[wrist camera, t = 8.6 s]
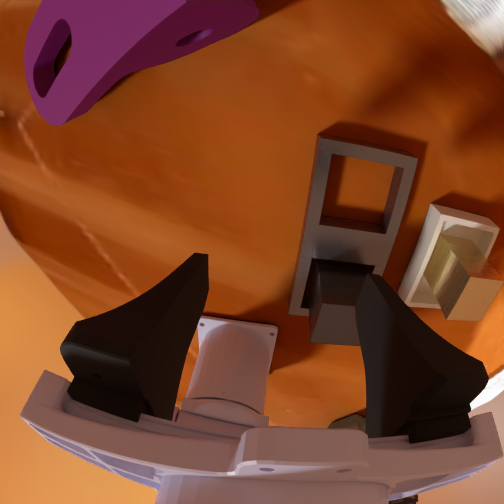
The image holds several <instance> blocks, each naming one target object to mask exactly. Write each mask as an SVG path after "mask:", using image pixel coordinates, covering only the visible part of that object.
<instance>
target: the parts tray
mask: <svg viewBox="0 0 504 504" xmlns="http://www.w3.org/2000/svg"><path fill="white" fill-rule="evenodd" d="M499 230H500V228H499V227H498V226H497V225H496V224H495V223H493V222H492V221H491V220H490V219H489V218H487V217H483V216H480V215H476V214H472V213H469V212H465V211H461V210H457V209H453V208H449V207H445V206H441V205H437V204H432V203H431V204H430V207H429V210H428V213H427V216H426V219H425V222H424V225H423V228H422V231H421V233H420V236H419V239H418V242H417V244H416V247H415V250H414V252H413V255H412V257H411V260H410V263H409V265H408V267H407V270H406V272H405V275H404V277H403V279H402V282H401V284H400V286H399V289H398V291H397V292H398V295H399V297H400V298H401V299H402V300H403V301H404V302H405V304H406V305H407V306H408V307H423V308H439V309H441V307H440V305H439V303H438V301H437V299H436V297H435V295H434V293H433V292H432V290H431V288H430V286H429V284H428V282H427V280H426V278H425V276H424V275H423V273H424V270H425V268H426V266H427V263H428V261H429V259H430V256H431V254H432V251H433V249H434V246H435V244H436V241H437V239H438V236H439V234H444V235H449V236H454V237H458V238H463V239H468V240H472V242H473V243H474V244H475V245H476V246H477V247H478V249H479V250H480V251H481V252H482V254H483V255H484V256H485V257H486V258H488V256H489V253H490V251H491V249H492V247H493V244H494V242H495V240H496V237H497V235H498V233H499Z"/></svg>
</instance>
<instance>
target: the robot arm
mask: <svg viewBox="0 0 504 504" xmlns="http://www.w3.org/2000/svg"><path fill="white" fill-rule="evenodd" d="M208 291H209V277H208V254H202V253H194V254H193V255H192V256H190V257H189V258H188V259H187V260H186V261H185V262H184V263H183V264H181V265H180V266H179V267H178V268H177V269H176V270H174V271H173V272H172V273H171V274H170V275H169V276H167V277H166V278H165V279H164V280H162V281H161V282H160V283H158V284H157V285H156V286H154V287H153V288H151V289H150V290H148V291H147V292H145V293H144V294H142V295H140V296H139V297H137V298H135V299H133V300H131V301H129V302H127V303H126V304H124V305H122V306H120V307H117V308H115V309H113V310H110V311H108V312H105V313H103V314H100V315H97V316H94V317H91V318H87V319H84V320H81V321H77V322H76V323H75V324H74V326H73V327H72V328H71V330H70V331H69V333H68V335H67V336H66V338H65V339H64V341H63V343H62V344H61V347H60V351H61V355H62V357H63V359H64V361H65V363H66V364H67V366H68V367H69V369H70V371H71V372H72V374H73V375H74V379H73V381H72V382H69V381H68V380H67V379H65V378H63V377H61V376H58V375H56V374H54V373H52V372H49V371H47V370H44V372H43V374H42V375H41V377H40V379H39V381H38V382H37V384H36V386H35V388H34V389H33V391H32V393H31V395H30V397H29V398H28V401H27V402H26V404H25V406H24V408H23V410H22V412H21V414H20V416H21V418H22V419H23V420H24V421H25V422H26V423H28V424H29V425H30V426H31V427H32V428H33V429H34V430H35V431H36V432H38V433H39V434H40V435H41V436H42V437H43V438H45V439H46V440H47V441H48V442H50V443H52V444H54V445H56V446H57V447H60V448H61V449H63V450H65V451H67V452H69V453H71V454H73V455H75V456H77V457H79V458H81V459H83V460H85V461H87V462H89V463H92V464H94V465H96V466H98V467H100V468H103V469H105V470H107V471H109V472H112V473H114V474H116V475H119V476H121V477H124V478H127V479H129V480H132V481H135V482H137V483H140V484H143V485H146V486H149V487H152V488H154V489H155V490H156V491H157V492H158V495H157V498H156V502H155V504H389V501H391V500H396V499H400V498H404V497H408V496H412V495H416V494H420V493H423V492H427V491H430V490H433V489H436V488H440V487H443V486H446V485H449V484H452V483H455V482H458V481H461V480H464V479H466V478H469V477H471V476H473V475H475V474H476V473H478V472H480V471H482V470H483V469H485V468H487V467H488V466H490V465H492V464H493V463H495V462H496V461H498V460H499V459H501V458H502V457H503V452H502V448H501V443H500V440H499V436H498V432H497V429H496V425H495V422H494V418H493V415H492V412H488V413H484V414H480V415H476V416H473V417H472V418H470V419H469V416H468V413H469V412H470V411H471V407H470V403H471V402H472V401H473V400H474V399H475V398H476V397H477V396H478V395H479V394H480V393H481V392H482V390H483V389H484V388H485V387H486V385H487V383H488V379H489V377H488V374H487V372H486V369H485V367H484V364H483V362H481V361H479V360H477V359H476V358H474V357H472V356H470V355H468V354H466V353H464V352H463V351H461V350H459V349H458V348H456V347H455V346H453V345H452V344H450V343H449V342H447V341H446V340H445V339H443V338H442V337H441V336H439V335H438V334H437V333H436V332H434V331H433V330H432V329H431V328H430V327H429V326H428V325H426V324H425V323H424V322H423V321H422V320H421V319H420V318H419V317H418V316H417V315H416V314H415V313H414V312H413V311H412V310H411V309H410V308H409V307H408V306H407V305H406V304H405V302H404V301H403V300H402V299H401V298H400V297H399V296H398V295H397V294H396V292H395V291H394V290H393V289H392V288H391V287H390V286H389V284H388V283H387V282H386V281H385V280H384V279H383V278H382V277H381V276H380V275H378V274H369V273H367V275H366V278H365V281H364V284H363V286H362V289H361V292H360V294H359V297H358V300H357V302H356V305H355V316H356V326H357V331H358V336H359V341H360V346H361V351H362V356H363V361H364V366H365V375H366V428H365V433H364V432H362V431H360V430H358V429H348V428H340V429H332V428H298V427H282V426H268V422H269V417H268V416H264V407H265V396H266V386H267V378H268V375H269V370H270V366H271V361H272V356H273V352H274V347H275V342H276V337H277V332H278V327H277V326H275V325H268V324H260V323H252V322H244V321H237V320H230V319H222V318H216V317H209V316H201V315H202V313H203V310H204V307H205V303H206V299H207V295H208ZM202 323H203V324H202ZM197 326H198V337H199V349H200V350H199V354H198V357H197V361H196V364H195V368H194V371H193V375H192V378H191V382H190V385H189V389H188V392H187V396H186V398H184V399H183V402H182V406H181V409H180V407H177V406H175V403H176V398H177V393H178V388H179V384H180V379H181V375H182V371H183V367H184V363H185V359H186V355H187V352H188V349H189V346H190V343H191V341H192V338H193V336H194V333H195V331H196V328H197Z"/></svg>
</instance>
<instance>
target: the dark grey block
mask: <svg viewBox="0 0 504 504" xmlns="http://www.w3.org/2000/svg"><path fill="white" fill-rule="evenodd" d="M366 275H367V271H366V268H365V265H364V264H359V263H351V262H343V261H335V260H326V259H318V258H315V262H314V267H313V271H312V275H311V279H310V283H309V288H308V307H309V328H310V343H321V344H334V345H350V346H360V341H359V336H358V331H357V326H356V316H355V305H356V302H357V300H358V297H359V294H360V292H361V289H362V286H363V284H364V281H365V278H366Z"/></svg>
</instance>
